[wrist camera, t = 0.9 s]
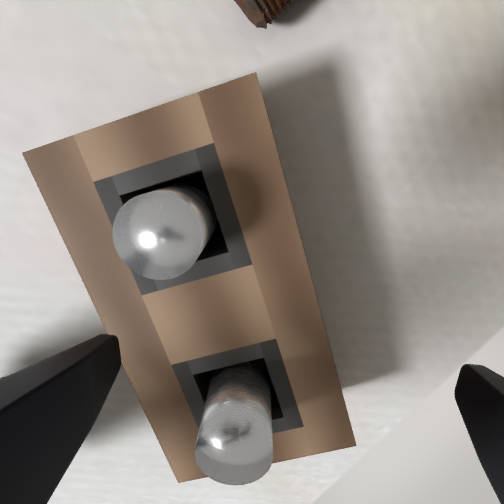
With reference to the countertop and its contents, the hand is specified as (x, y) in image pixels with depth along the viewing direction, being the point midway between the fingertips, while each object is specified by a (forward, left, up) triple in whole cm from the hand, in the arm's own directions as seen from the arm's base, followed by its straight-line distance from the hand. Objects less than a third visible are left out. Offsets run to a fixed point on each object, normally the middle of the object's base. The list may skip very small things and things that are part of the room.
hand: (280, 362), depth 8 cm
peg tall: (-4, -8, -10) cm, 13 cm away
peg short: (-4, +3, -11) cm, 12 cm away
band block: (-4, -2, -14) cm, 15 cm away
